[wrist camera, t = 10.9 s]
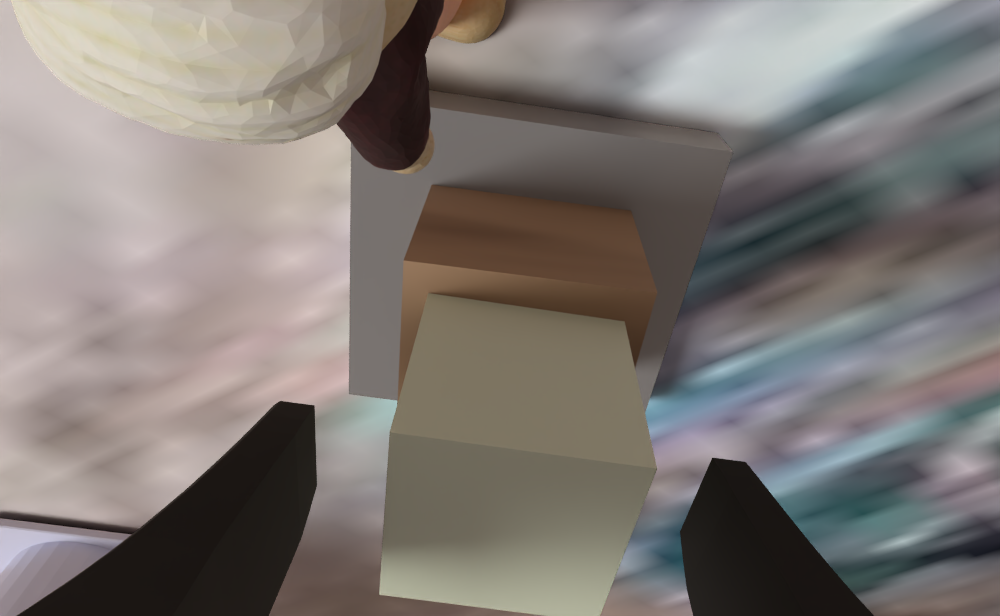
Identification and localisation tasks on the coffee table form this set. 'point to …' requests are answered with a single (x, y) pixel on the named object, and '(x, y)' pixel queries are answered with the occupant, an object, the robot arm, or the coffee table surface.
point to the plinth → (535, 174)
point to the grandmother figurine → (260, 65)
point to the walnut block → (526, 260)
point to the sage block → (514, 460)
